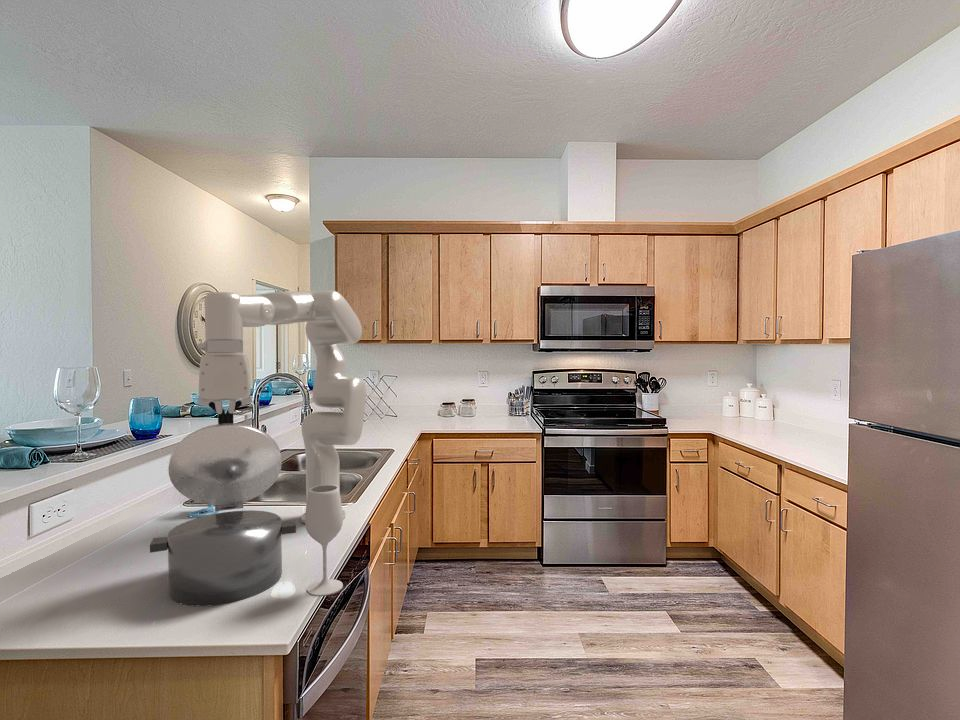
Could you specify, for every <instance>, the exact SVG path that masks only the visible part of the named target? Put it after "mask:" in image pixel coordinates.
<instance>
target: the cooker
mask: <svg viewBox="0 0 960 720" xmlns="http://www.w3.org/2000/svg"><path fill="white" fill-rule="evenodd" d="M296 533H297V523H296V520H295V519H293V520H287V521H285V520H283V521H282V518H281V517H280V515H278V514H276V513H274V512H269V511H264V510H233V511H226V512H217V513H216V514H212V515H207V516H203V517H199V518H198V517H195V518H193V519H190V520H188V521H185V522H183V523H180V524H179V525H176V526H175V527H173V528H171V530H169V532H168V534H167V536H161V537H153V538H152V540H151V542H150V543H149V553H150V554H151V553H157V552H164V551H165V552H166V551H167V559H168V560H167V563H168V572H167V573H168V596H169V598H170V597H171V598H170V599H171V600H172V601H173V600H174V601H173V602H175V601H176V602H175V603H177V602H178V604H180V603H182V604H181V605H184V604H186V605H185V606H191V605H193V606H194V607H197V606H196V605H202V606H201V607H204V606H203V605H211V606H219V604H220V605H225V603H226V604H229V603H235V602H239V601H242V600H245V599H249V598H251V597H254V596H257V595H259V594H261V593H263V592H265V591H267V590H269V589H270V588H272V587H273V586H275V585H277V583H278V582H279V581H280V579H281V578H282V576H281V575H282V574H283V560H282V559H283V558H282V557H283V555H282V553H283V551H282V549H283V548H282V535H288V534H289V535H290V534H296Z"/></svg>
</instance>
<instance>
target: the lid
mask: <svg viewBox="0 0 960 720" xmlns="http://www.w3.org/2000/svg"><path fill="white" fill-rule="evenodd" d="M281 471H282V454H281V450H280V448H279V444H278V443H277V442H276V441H275V440H274V438H272V436H270V435H269V434H268V433H267V432H266V431H264V430H262V429H259V428H257V427H255V426H251V425H248V424H243V423H237V422H236V423H235V422H233V423H223V424H218V423H217V424H211V425H208V426H204V427H201V428H199V429H197V430H195V431H193V432H191V433H189V434H188V435H186V436H185V437H183V438H182V439H181V440H180V441H179V442H178V443H177V445H175V448H174V449H173V450H172V452H171V455H170V458H169V463H168V476H169V480H170V482H171V484H172V485H173V487H174V488H175V489H176V490H177V491H178V492H179V493H180V494H181V495H182V496H184V497H185V498H188V499H190V500H192V501H194V502H197V503H199V504H202V505H203V504H205V505H207V506H208V505H213V506H214V509H215V511H218V512H221V511H230V510H238V509H244V502H247V501H250V500H252V499H254V498H257V497H259V496H260V495H262V494H263V493H265V492H266V491H267V490H269V489H270V488H271V487H272V486H273V484H275V482H276V481H277V479H278V477H279V475H280V474H281Z"/></svg>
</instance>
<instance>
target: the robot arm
mask: <svg viewBox="0 0 960 720" xmlns="http://www.w3.org/2000/svg"><path fill="white" fill-rule="evenodd" d="M297 323H298V324H299V323H306V324H305V329H304V330H305V335H306V337H307V340H308V341H309V343H310V345H311V347H312V348H313V350H314V353H315V357H316V368H315V374H314V380H313V387H312V402H313V404H314V405H316V407H320V408H327V409H329V408H330V409H331V408H332V409H343V412H341V411H340V412H339V411H337V412H336V411H314V412H311V413H308V414H307V415H305V417H304V418H303V420H302V422H301V435H302V439H303V445H304V451H305V486H306V487H305V489H306V491H305V494H306V496H305V497H306V502H305V503H306V504H307V498H308V493H309V489H310V488H312V487H315V486H320V485H335V486H338V488H339V492H340V493H341V491H340V489H341V487H340V486H341V485H340V483H341V482H340V478H341V477H340V457H339V453H338V450H337V449H336V447H335V446H353V445H355V444H357V443H358V442H359V441H360V439H361V437H362V432H363V425H364V418H365V410H366V402H367V389H366V384H365V382H364V381H363V380H362V379H361V378H360V377H357V376H352V375H349V376H348V375H345V373H346V365H347V364H346V363H347V362H346V358H345V356H344V354H343V352H342V351H341V349H340V348H339V347H338V346H341V345H342V346H343V345H344V346H347V345H349V346H351V345H355V344H357V343H358V342H359V341H360V340H361V338H362V335H363V328H362V324H361V321H360V319H359V317H358V316H357V314H356V313H355V311H354V310H353V308H352V307H351V305H350V304H349V303H348V301H347V300H346V299H345V297H344V296H343V295H342V294H340V292H338V291H337V290H331V289H329V290H328V289H327V290H303V291H302V290H300V291H295V290H294V291H275V292H266V293H260V294H259V293H258V294H239V293H236V292H235V293H234V292H226V291H223V292H222V291H214V292H209V293H206V295H205V297H204V331H205V332H204V333H205V335H204V336H205V340H204V341H203V342H202V343H198V344H197V349H198V350H201V351H204V352H205V354H201V357H200V363H199V369H198V370H199V372H198V397H199V398H198V401H197V404H198V405H199V406H202V407H208V408H210V409H212V410H213V411H214V412H216V413H217V417H218V418H217V424H223V423H234V413H235V412H236V411H237V410H238V409H239V408H240V407H241V406H245V405H248V404H251V403H252V402H253V399H252V396H251V373H250V365H249V359H248V355H247V354H244V328H259V327H264V326H267V325H269V326H270V325H271V326H277V325H278V326H279V325H291V324H292V325H293V324H297ZM222 401H229V404H228V409H227V411H226V412H225V409H224V407H223V403H222ZM342 511H343V519H344V518H346V512H345V510H344V509H342ZM305 513H306V512H304V513H302V514H301V516H300V520H301V522H302V523H303V524H305Z"/></svg>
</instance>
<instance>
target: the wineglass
mask: <svg viewBox="0 0 960 720" xmlns="http://www.w3.org/2000/svg"><path fill="white" fill-rule="evenodd" d="M340 493H341V491H340V492H339V488H338V486H335V485H320V486H315V487H312V488H310V489H309V493H308V498H307V504H306V506H305V507H306V508H305V512H304V513H305V523H304V525H305V530H306V531H307V534H308V535H309V536H310V538H312V539H313V540H314V541H316V543H319V544H320V546H321V547H322V575H323V576H322V579H320V580H317V581H314V582H313V583H311V584H310V585H308V586H307V588H306V590H307V594H309V595H311V596H315V597H324V596H331V595H333V594H337V593H339V592H340V591H341V590H342V589H343V587H344V584H343V582H342V581H341V580H338V579H331V578H328V571H327V570H328V569H327V568H328V567H327V556H328V555H327V549H328V546H329V543H330V542H332V541H333V539H334V538H336V537H337V535H338V534H339V533H340V531H341V529H342V526H343V522H344V521H343V520H344V518H343V511H344V510H343V506H342V505H343V503H342V498H341V494H340ZM342 510H343V511H342Z"/></svg>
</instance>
